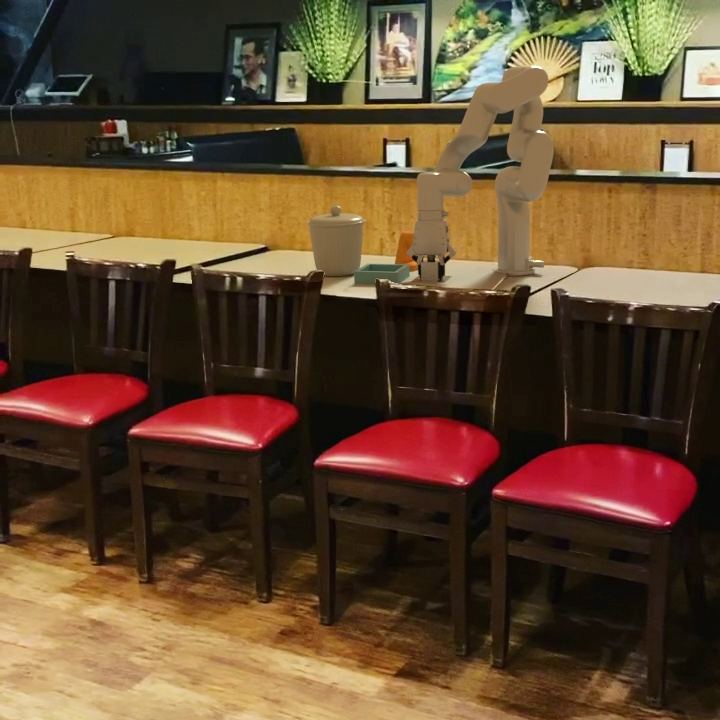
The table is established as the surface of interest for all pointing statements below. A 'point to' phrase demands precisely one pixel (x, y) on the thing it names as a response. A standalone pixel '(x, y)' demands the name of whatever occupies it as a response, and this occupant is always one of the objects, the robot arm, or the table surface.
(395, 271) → the bin
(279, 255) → the table surface
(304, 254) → the table surface
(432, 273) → the strut socket
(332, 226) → the canister
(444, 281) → the stud mount
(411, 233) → the bracket
